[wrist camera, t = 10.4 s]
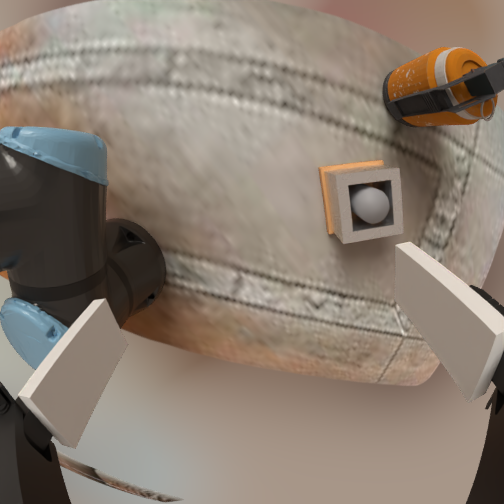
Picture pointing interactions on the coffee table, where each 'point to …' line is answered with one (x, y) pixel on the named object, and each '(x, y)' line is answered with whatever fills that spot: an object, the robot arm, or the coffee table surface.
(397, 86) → the canister
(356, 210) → the block
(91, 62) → the coffee table surface
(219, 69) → the coffee table surface
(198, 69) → the coffee table surface
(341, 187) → the grey hollow block
